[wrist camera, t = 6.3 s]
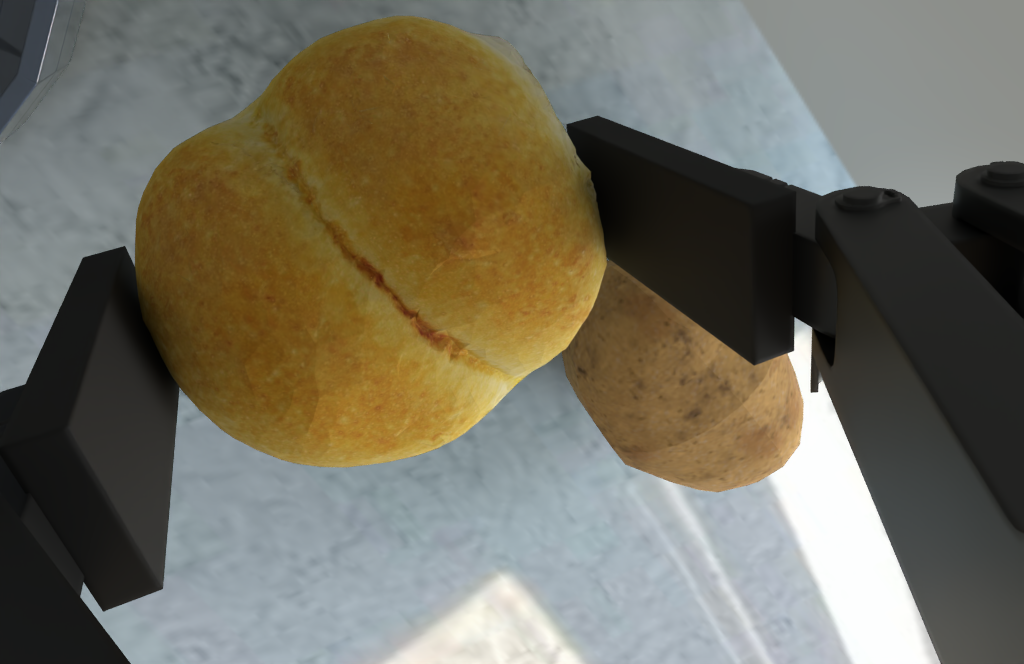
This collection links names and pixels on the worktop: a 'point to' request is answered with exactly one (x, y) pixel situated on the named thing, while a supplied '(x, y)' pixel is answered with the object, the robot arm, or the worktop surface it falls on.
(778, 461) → the potato
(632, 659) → the worktop surface
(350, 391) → the bread roll
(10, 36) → the blue grey bowl
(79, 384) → the robot arm
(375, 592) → the worktop surface
